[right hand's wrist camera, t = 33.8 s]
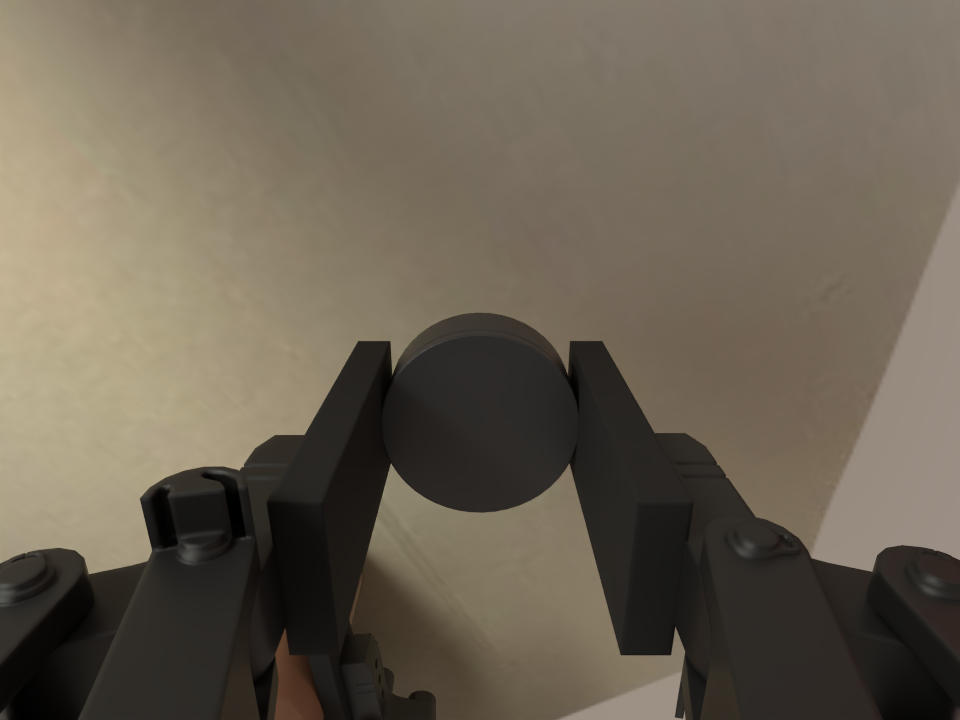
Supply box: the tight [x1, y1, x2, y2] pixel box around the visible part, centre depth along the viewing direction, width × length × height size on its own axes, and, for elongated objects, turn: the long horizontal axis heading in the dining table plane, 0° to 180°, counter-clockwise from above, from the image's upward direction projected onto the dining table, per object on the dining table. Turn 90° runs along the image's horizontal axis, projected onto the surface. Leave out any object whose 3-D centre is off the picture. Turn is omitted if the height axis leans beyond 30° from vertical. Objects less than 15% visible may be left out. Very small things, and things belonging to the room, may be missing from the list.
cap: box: [382, 313, 579, 512], centre depth 14 cm, size 4×4×2 cm
